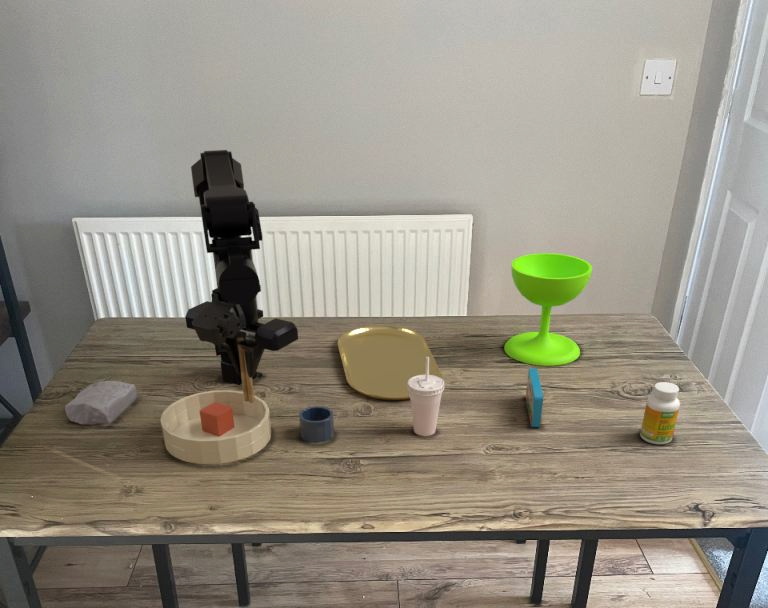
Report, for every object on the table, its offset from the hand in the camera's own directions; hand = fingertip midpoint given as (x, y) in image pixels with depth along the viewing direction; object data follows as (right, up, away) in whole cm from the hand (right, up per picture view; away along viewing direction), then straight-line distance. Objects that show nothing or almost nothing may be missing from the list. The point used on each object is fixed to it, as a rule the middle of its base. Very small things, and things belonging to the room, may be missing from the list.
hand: (246, 374), depth 131 cm
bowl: (-6, -10, +9) cm, 15 cm away
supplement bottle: (+70, -10, +9) cm, 71 cm away
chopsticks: (0, -4, +3) cm, 5 cm away
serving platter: (+23, +8, +33) cm, 41 cm away
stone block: (-30, -4, +18) cm, 35 cm away
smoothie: (+30, -9, +10) cm, 33 cm away
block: (-7, -8, +10) cm, 15 cm away
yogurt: (+50, -4, +16) cm, 53 cm away
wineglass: (+56, +12, +39) cm, 70 cm away
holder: (+11, -9, +9) cm, 17 cm away
